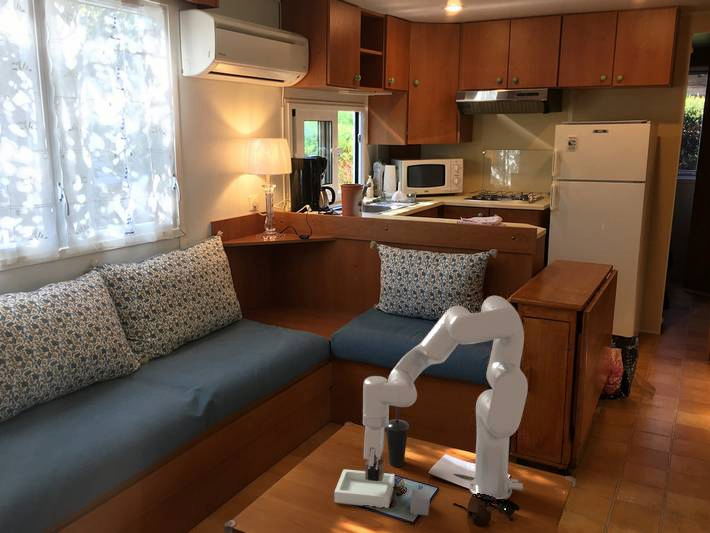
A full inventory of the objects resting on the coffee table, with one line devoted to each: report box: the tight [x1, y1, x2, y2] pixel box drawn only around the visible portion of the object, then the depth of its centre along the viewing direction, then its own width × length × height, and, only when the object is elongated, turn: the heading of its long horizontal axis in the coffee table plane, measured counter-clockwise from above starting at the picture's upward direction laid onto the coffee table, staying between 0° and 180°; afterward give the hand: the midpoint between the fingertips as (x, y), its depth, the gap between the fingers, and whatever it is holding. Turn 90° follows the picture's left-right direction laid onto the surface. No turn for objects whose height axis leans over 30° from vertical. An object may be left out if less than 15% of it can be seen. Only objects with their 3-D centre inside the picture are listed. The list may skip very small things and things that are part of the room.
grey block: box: [409, 488, 431, 516], centre depth 190 cm, size 5×5×5 cm
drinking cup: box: [385, 406, 410, 468], centre depth 215 cm, size 8×8×20 cm
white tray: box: [333, 468, 395, 509], centre depth 199 cm, size 16×13×4 cm
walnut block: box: [364, 456, 386, 481], centre depth 197 cm, size 5×5×5 cm
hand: (374, 474), depth 197 cm, fingers closed on walnut block, 5 cm apart
